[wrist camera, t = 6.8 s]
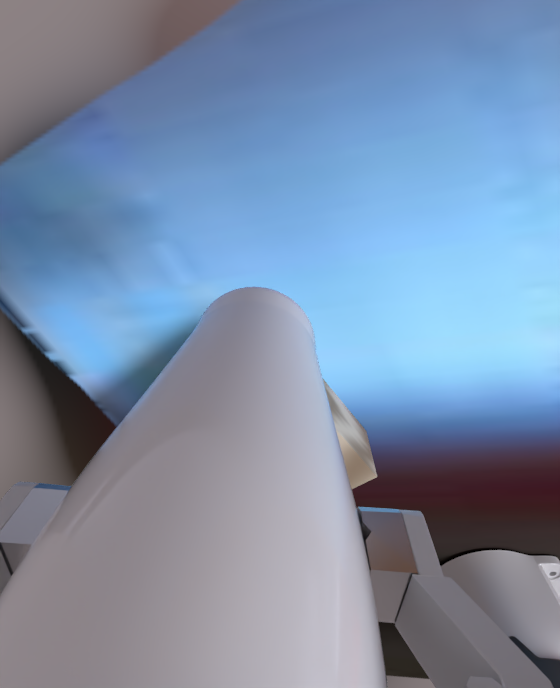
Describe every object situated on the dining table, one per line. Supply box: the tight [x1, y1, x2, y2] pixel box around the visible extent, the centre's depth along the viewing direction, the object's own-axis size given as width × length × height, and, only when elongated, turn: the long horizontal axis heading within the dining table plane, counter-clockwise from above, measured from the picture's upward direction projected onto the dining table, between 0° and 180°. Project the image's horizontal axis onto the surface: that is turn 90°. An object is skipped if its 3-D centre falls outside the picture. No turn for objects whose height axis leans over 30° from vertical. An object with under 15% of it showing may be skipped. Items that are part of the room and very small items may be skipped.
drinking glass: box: [0, 287, 388, 688], centre depth 12 cm, size 7×7×15 cm
